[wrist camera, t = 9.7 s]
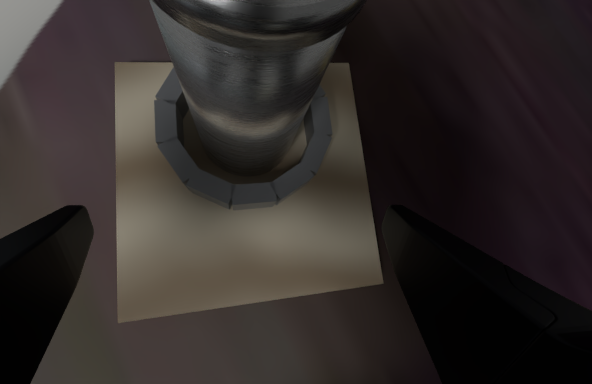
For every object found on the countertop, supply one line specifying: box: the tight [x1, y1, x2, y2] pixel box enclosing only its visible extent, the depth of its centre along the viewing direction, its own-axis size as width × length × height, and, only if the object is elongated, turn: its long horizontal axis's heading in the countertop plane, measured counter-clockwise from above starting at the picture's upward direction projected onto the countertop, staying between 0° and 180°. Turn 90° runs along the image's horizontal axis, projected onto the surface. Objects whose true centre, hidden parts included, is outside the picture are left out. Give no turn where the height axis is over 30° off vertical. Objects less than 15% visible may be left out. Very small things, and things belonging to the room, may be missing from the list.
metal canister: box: [149, 0, 366, 176], centre depth 12 cm, size 6×6×12 cm
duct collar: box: [154, 67, 332, 210], centre depth 17 cm, size 9×9×2 cm
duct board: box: [115, 62, 383, 323], centre depth 18 cm, size 14×14×1 cm
